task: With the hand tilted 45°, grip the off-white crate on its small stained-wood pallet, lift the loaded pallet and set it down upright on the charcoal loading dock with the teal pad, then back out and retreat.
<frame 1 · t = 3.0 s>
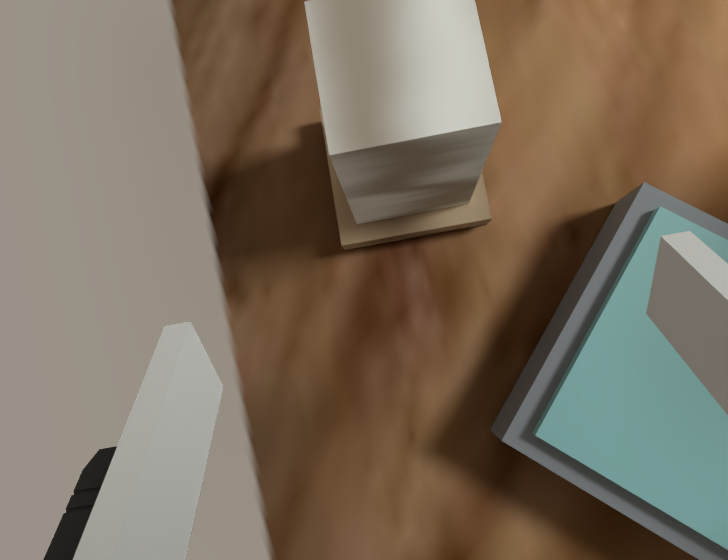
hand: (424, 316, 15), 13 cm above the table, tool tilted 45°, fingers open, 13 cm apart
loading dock: (660, 372, 26), on the table
loaded pallet: (403, 171, 29), on the table
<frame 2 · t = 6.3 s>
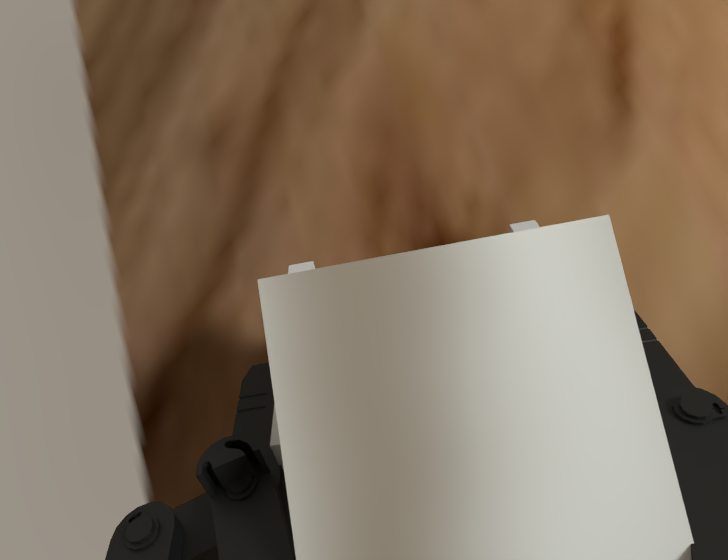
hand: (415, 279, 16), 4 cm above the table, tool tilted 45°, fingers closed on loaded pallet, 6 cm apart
loaded pallet: (431, 388, 19), on the table, touching gripper
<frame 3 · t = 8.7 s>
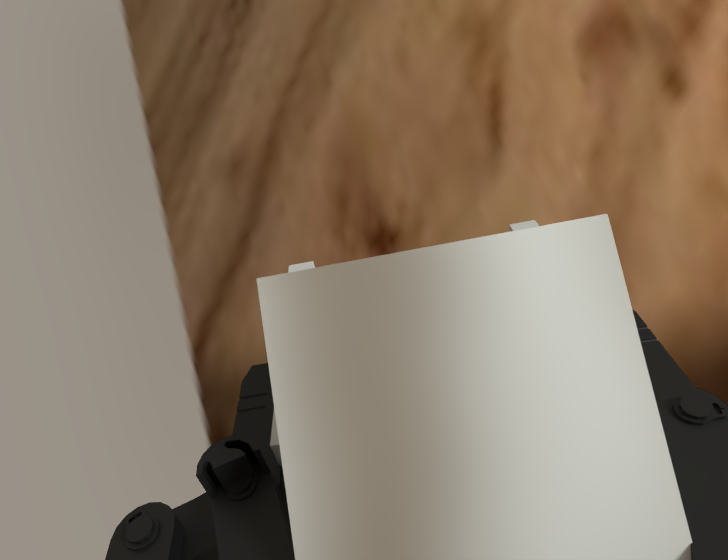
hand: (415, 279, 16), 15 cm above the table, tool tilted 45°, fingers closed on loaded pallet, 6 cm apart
loaded pallet: (431, 387, 19), point 11 cm above the table, touching gripper
when the fingers open (9 cm above the table, at t = 11.5 s): loaded pallet drops 1 cm, resting on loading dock.
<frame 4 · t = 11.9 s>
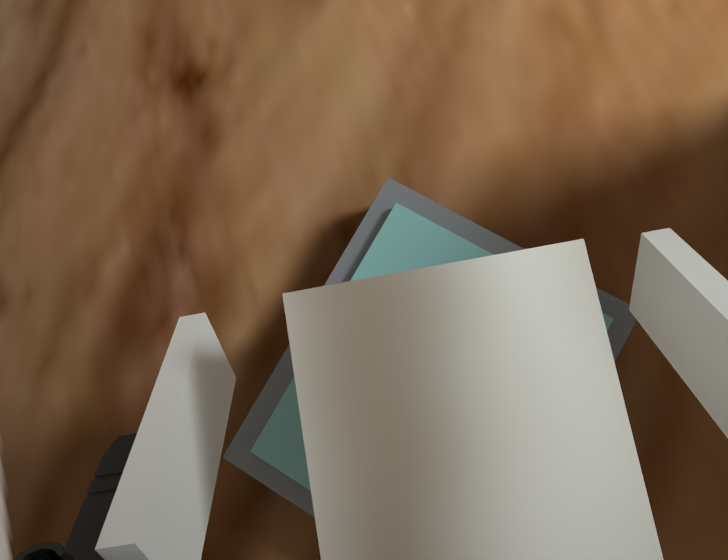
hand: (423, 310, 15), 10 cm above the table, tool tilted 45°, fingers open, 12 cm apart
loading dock: (426, 381, 25), on the table
loaded pallet: (432, 387, 21), point 4 cm above the table, touching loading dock
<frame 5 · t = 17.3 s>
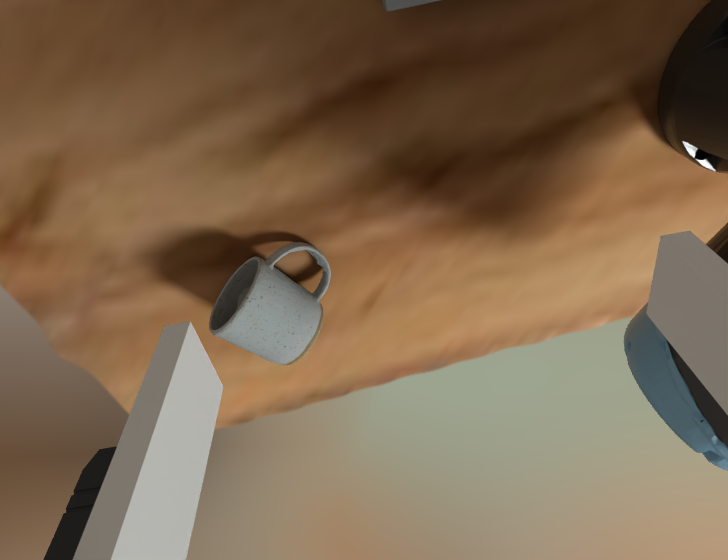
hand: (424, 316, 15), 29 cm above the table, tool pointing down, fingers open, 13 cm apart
ceramic mug: (278, 278, 49), on the table
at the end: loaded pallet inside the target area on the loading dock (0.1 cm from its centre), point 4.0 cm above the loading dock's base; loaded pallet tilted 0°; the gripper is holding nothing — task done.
